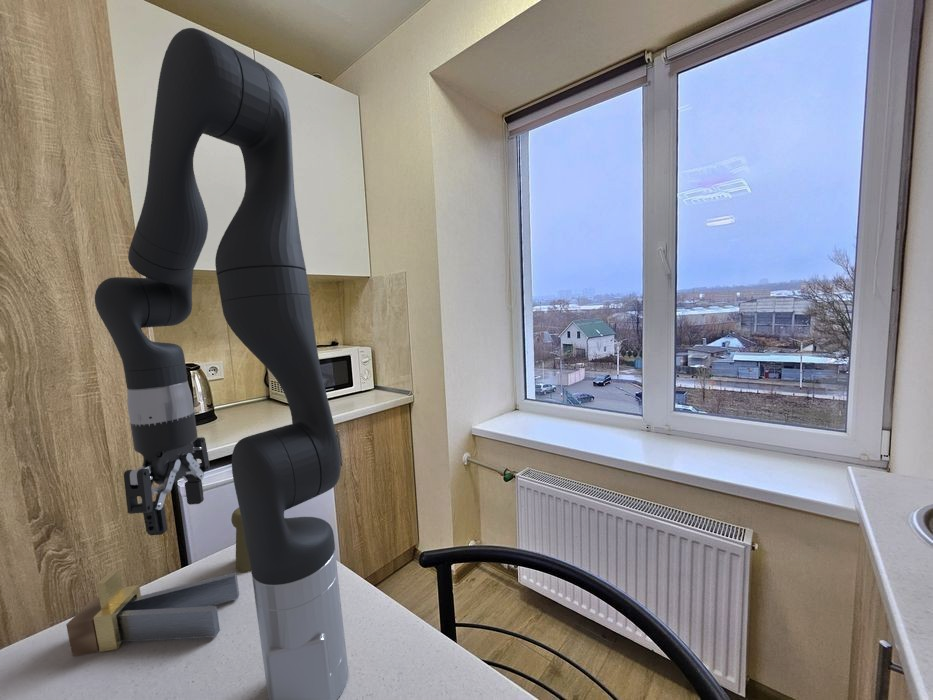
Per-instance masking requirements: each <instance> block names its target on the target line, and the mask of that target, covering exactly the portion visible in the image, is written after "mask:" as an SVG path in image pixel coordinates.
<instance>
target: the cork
mask: <svg viewBox="0 0 933 700" xmlns="http://www.w3.org/2000/svg"><path fill="white" fill-rule="evenodd" d="M231 524H232V526H233V527H234V528H235V529H236V530H235V570H236V571H237V572H240V573H249V572H251V566H250V560H249V556H248V551H247V547H246V543H245V538H244V531H243V524H242V519H241V514H240V508H239V507H236V509H235V510H233V512H232V514H231ZM248 571H249V572H248Z"/></svg>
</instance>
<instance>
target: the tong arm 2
mask: <svg viewBox="0 0 933 700" xmlns="http://www.w3.org/2000/svg"><path fill="white" fill-rule="evenodd" d="M238 582H239V581H238V574H237V572H236V571H234V572H232V573H228V574H224V575H219V576H215V577H211V578H208V579H203V580H199V581H194V582H190V583H187V584H183V585H179V586H175V587H171V588H166V589H163V590H159V591H156V592H152V593H147V594H143V595H141V596H139V597H135V598H132V599H131V600H130V601H129V602H128V603H127V604H126V605H125V606H124V607H123V608H122V609H121V611H128V610H147V609H166V608H185V607H205V606H216V605H219V604H221V603H226V602H230V601H234V600H237V599H239V597H240V590H239V583H238Z"/></svg>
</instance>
